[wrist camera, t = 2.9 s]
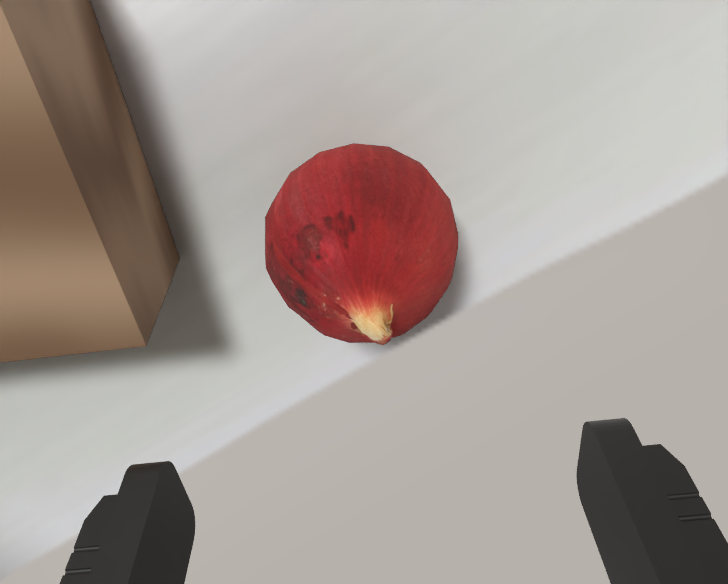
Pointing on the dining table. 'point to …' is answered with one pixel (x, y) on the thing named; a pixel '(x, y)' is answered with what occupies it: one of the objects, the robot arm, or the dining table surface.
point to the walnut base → (72, 193)
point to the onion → (361, 243)
